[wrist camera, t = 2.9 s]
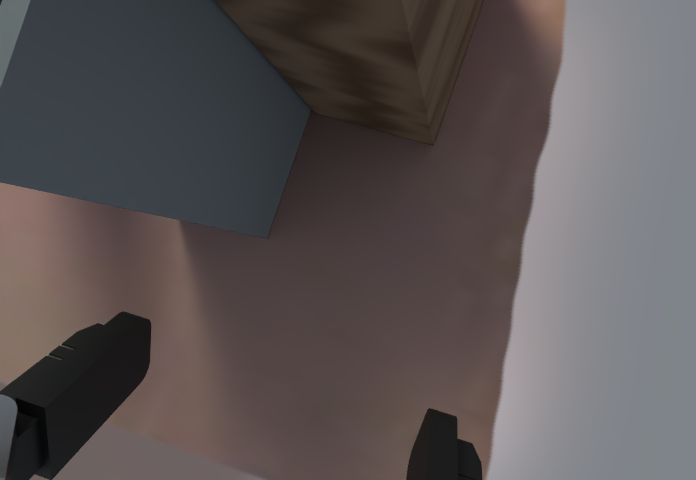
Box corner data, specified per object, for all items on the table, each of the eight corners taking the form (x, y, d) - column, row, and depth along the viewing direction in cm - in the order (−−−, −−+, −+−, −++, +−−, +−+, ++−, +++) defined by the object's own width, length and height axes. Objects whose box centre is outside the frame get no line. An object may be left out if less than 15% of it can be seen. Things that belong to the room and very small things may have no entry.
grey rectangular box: (175, 205, 44) (-203, 108, 19) (243, 6, 44) (-45, -352, 19) (267, 238, 42) (-30, 175, 17) (339, 27, 42) (152, -355, 17)
